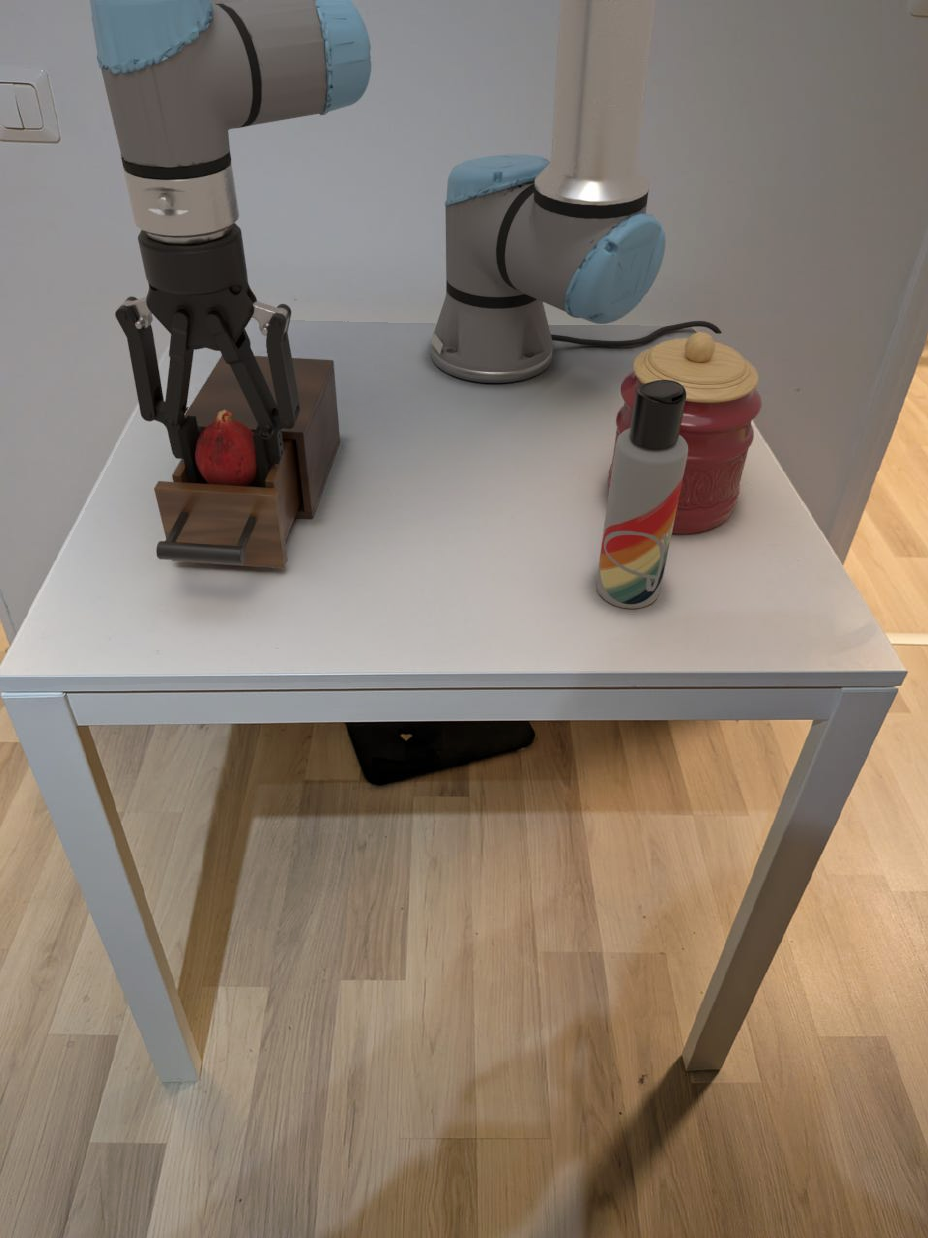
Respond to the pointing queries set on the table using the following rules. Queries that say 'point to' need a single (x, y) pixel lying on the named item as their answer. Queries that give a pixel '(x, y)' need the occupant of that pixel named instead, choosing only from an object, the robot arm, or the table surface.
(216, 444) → the red pomegranate
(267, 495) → the drawer
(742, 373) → the kitchen canister
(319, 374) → the cabinet
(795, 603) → the table surface
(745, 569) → the table surface
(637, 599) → the lotion bottle
